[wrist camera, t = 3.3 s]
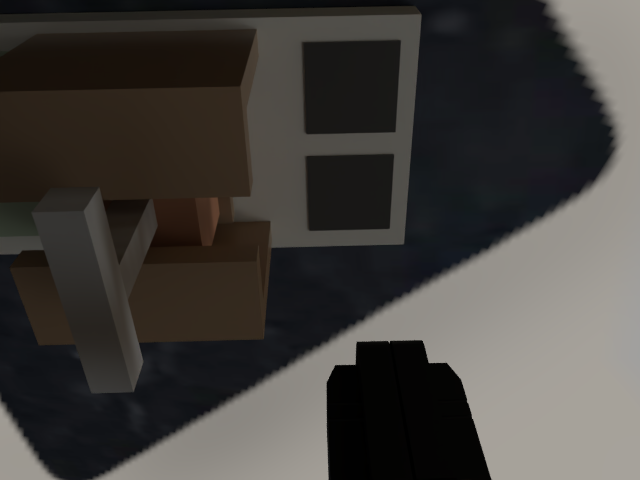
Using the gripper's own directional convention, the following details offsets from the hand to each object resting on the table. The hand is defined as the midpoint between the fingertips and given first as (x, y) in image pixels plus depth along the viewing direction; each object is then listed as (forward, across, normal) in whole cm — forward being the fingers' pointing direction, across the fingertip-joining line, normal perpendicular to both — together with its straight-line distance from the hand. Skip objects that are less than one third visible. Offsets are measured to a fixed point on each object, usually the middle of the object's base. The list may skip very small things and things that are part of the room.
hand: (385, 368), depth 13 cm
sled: (+12, +7, 0) cm, 14 cm away
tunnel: (+14, +8, 0) cm, 16 cm away
